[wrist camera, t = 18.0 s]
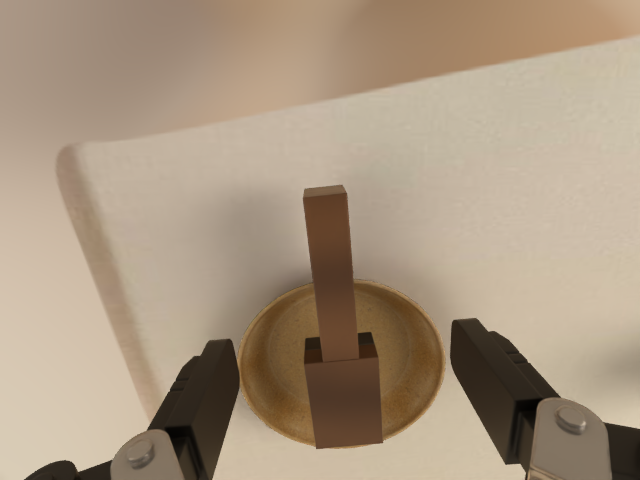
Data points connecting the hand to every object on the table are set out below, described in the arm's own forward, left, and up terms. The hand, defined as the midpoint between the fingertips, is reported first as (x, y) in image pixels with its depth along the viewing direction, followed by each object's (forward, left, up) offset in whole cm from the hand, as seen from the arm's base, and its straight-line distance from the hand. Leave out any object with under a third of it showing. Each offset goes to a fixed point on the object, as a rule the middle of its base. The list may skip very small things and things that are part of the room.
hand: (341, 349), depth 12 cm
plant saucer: (+9, 0, -11) cm, 14 cm away
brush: (+4, 0, -8) cm, 9 cm away
